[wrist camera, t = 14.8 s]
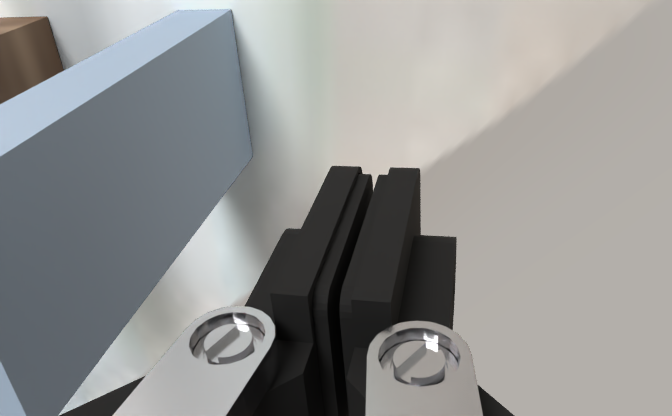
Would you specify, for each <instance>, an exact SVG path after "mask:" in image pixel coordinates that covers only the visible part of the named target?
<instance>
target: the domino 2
mask: <svg viewBox="0 0 672 416" xmlns="http://www.w3.org/2000/svg"><path fill="white" fill-rule="evenodd" d="M252 157H253V153H252V146H251V140H250V133H249V126H248V120H247V113H246V106H245V99H244V93H243V86H242V79H241V73H240V66H239V59H238V52H237V46H236V39H235V32H234V26H233V19H232V12H231V9H227V10H178V11H176V12H174V13H172V14H170V15H168V16H166V17H164V18H162V19H160V20H159V21H157V22H155V23H153V24H151V25H149V26H147V27H145V28H143V29H142V30H140V31H138V32H136V33H134V34H132V35H130V36H128V37H126V38H125V39H123V40H121V41H119V42H117V43H115V44H113V45H111V46H110V47H108V48H106V49H104V50H102V51H100V52H98V53H96V54H94V55H93V56H91V57H89V58H87V59H85V60H83V61H81V62H79V63H77V64H76V65H74V66H72V67H70V68H68V69H66V70H64V71H62V72H60V73H59V74H57V75H55V76H53V77H51V78H49V79H47V80H45V81H43V82H42V83H40V84H38V85H36V86H34V87H32V88H30V89H28V90H26V91H25V92H23V93H21V94H19V95H17V96H15V97H13V98H11V99H9V100H8V101H6V102H4V103H2V104H0V416H58V414H59V413H60V412H61V411H62V409H63V408H64V407H65V405H66V404H67V403H68V401H69V400H70V399H71V397H72V396H73V395H74V393H75V392H76V391H77V389H78V388H79V387H80V385H81V384H82V383H83V381H84V380H85V379H86V377H87V376H88V375H89V373H90V372H91V371H92V369H93V368H94V367H95V365H96V364H97V363H98V361H99V360H100V359H101V357H102V356H103V355H104V353H105V352H106V351H107V349H108V348H109V347H110V345H111V344H112V343H113V341H114V340H115V339H116V337H117V336H118V335H119V333H120V332H121V331H122V329H123V328H124V327H125V325H126V324H127V323H128V322H129V320H130V319H131V318H132V316H133V315H134V314H135V312H136V311H137V310H138V308H139V307H140V306H141V304H142V303H143V302H144V300H145V299H146V298H147V296H148V295H149V294H150V292H151V291H152V290H153V288H154V287H155V286H156V284H157V283H158V282H159V280H160V279H161V278H162V276H163V275H164V274H165V272H166V271H167V270H168V268H169V267H170V266H171V264H172V263H173V262H174V260H175V259H176V258H177V256H178V255H179V254H180V252H181V251H182V250H183V248H184V247H185V246H186V244H187V243H188V242H189V240H190V239H191V238H192V236H193V235H194V234H195V233H196V231H197V230H198V229H199V227H200V226H201V225H202V223H203V222H204V221H205V219H206V218H207V217H208V215H209V214H210V213H211V211H212V210H213V209H214V207H215V206H216V205H217V203H218V202H219V201H220V199H221V198H222V197H223V195H224V194H225V193H226V191H227V190H228V189H229V187H230V186H231V185H232V183H233V182H234V181H235V179H236V178H237V177H238V175H239V174H240V173H241V171H242V170H243V169H244V167H245V166H246V165H247V163H248V162H249V161H250V159H251V158H252Z"/></svg>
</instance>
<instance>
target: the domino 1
mask: <svg viewBox="0 0 672 416" xmlns="http://www.w3.org/2000/svg"><path fill="white" fill-rule="evenodd" d="M62 71H64V70H63V67H62V63H61V60H60V57H59V54H58V50H57V47H56V44H55V41H54V37H53V34H52V31H51V27H50V24H49V21H48V18H47V17H11V18H0V104H2V103H4V102H6V101H8V100H9V99H11V98H13V97H15V96H17V95H19V94H21V93H23V92H25V91H26V90H28V89H30V88H32V87H34V86H36V85H38V84H40V83H42V82H43V81H45V80H47V79H49V78H51V77H53V76H55V75H57V74H59V73H60V72H62Z"/></svg>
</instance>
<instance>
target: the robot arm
mask: <svg viewBox="0 0 672 416" xmlns="http://www.w3.org/2000/svg"><path fill="white" fill-rule="evenodd" d="M420 230H421V228H420V169H419V168H390V170H389V173H388V175H379V176H378V179H377V182H376V185H375V188H374V191H373V183H372V176H371V174H362V169H361V167H350V166H332V167H331V168H330V170H329V172H328V174H327V176H326V178H325V180H324V183H323V185H322V187H321V189H320V191H319V193H318V195H317V197H316V199H315V201H314V203H313V205H312V207H311V209H310V212H309V214H308V216H307V218H306V220H305V222H304V224H303V226H302V228H301V229H290V228H289V229H286V230H285V231H284V233H283V234H282V236H281V238H280V240H279V242H278V244H277V246H276V247H275V249H274V251H273V253H272V255H271V257H270V259H269V261H268V263H267V265H266V266H265V268H264V270H263V272H262V274H261V276H260V278H259V280H258V282H257V284H256V286H255V287H254V289H253V291H252V293H251V295H250V297H249V299H248V301H247V303H246V305H245V306H231V307H224V308H220V309H217V310H214V311H211V312H208V313H206V314H204V315H203V316H201V317H199V318H197V319H196V320H195V321H194V322H192V323H191V324H190V325H189V326H188V327H187V328H186V329H185V330H184V331H183V333H182V334H181V335H180V336H179V337H178V339H177V340H176V341H175V342H174V343H173V344H172V346H171V347H170V348H169V349H168V350H167V352H166V353H165V354H164V355H163V356H162V358H161V359H160V360H159V361H158V362H157V363H156V365H155V366H154V367H153V368H152V369H151V371H150V372H149V373H148V374H147V375H146V376H144V377H142V378H140V379H138V380H136V381H133V382H131V383H129V384H127V385H125V386H123V387H120V388H118V389H116V390H114V391H112V392H110V393H107V394H105V395H103V396H101V397H99V398H97V399H94V400H92V401H90V402H88V403H86V404H84V405H81V406H79V407H77V408H75V409H73V410H70V411H68V412H66V413H64V414H62V415H60V416H514V415H513V414H512V413H510V412H509V411H508V410H507V409H506V408H505V407H503V406H502V405H501V404H500V403H499V402H497V401H496V400H495V399H494V398H493V397H491V396H490V395H489V394H488V393H487V392H486V391H484V390H483V389H482V388H481V387H480V386H478V385H477V380H476V375H475V370H474V365H473V359H472V354H471V352H470V349H469V347H468V344H467V343H466V342H465V341H464V340H463V339H462V337H461V336H460V335H459V334H457V333H456V332H454V331H453V315H454V294H455V272H456V270H455V269H456V237H444V236H424V235H420V234H421V233H420V232H421V231H420Z"/></svg>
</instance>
